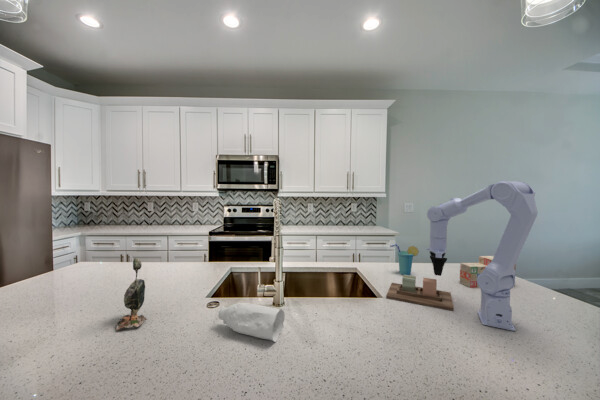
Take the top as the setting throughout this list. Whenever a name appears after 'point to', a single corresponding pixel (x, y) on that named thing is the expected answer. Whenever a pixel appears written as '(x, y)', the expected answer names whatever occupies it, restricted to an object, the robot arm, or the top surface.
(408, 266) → the cup
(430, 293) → the terracotta block
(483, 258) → the stack of blocks
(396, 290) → the walnut base
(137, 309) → the plant with pod
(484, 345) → the top surface
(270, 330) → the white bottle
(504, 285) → the robot arm
